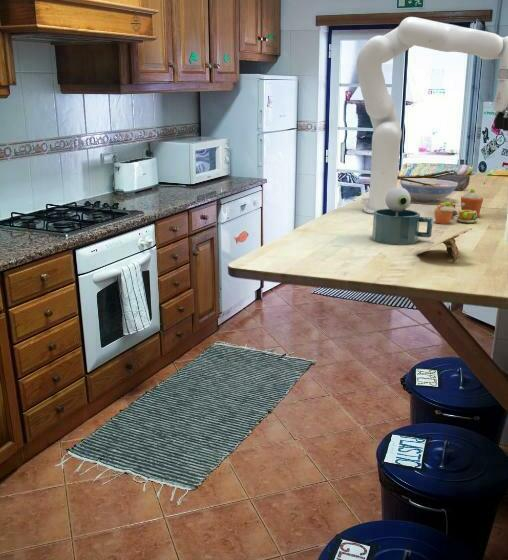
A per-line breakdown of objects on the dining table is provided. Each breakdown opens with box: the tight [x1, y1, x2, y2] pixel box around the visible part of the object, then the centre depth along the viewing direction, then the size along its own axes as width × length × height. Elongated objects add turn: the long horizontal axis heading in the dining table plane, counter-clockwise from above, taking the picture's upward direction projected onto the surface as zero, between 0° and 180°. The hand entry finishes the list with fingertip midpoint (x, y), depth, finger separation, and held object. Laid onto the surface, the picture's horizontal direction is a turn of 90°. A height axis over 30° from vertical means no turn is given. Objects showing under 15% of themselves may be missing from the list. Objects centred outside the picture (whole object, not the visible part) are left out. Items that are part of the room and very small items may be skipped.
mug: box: [371, 209, 434, 246], centre depth 185 cm, size 17×13×8 cm
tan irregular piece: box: [420, 227, 473, 263], centre depth 165 cm, size 18×14×8 cm
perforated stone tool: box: [436, 174, 471, 191], centre depth 286 cm, size 15×5×7 cm, turn 70°
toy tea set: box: [434, 188, 484, 225], centre depth 218 cm, size 26×16×10 cm, turn 158°
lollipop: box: [385, 186, 412, 216], centre depth 184 cm, size 7×7×15 cm
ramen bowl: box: [397, 176, 458, 203], centre depth 255 cm, size 25×23×8 cm
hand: (503, 129), depth 212 cm, fingers open, 9 cm apart
